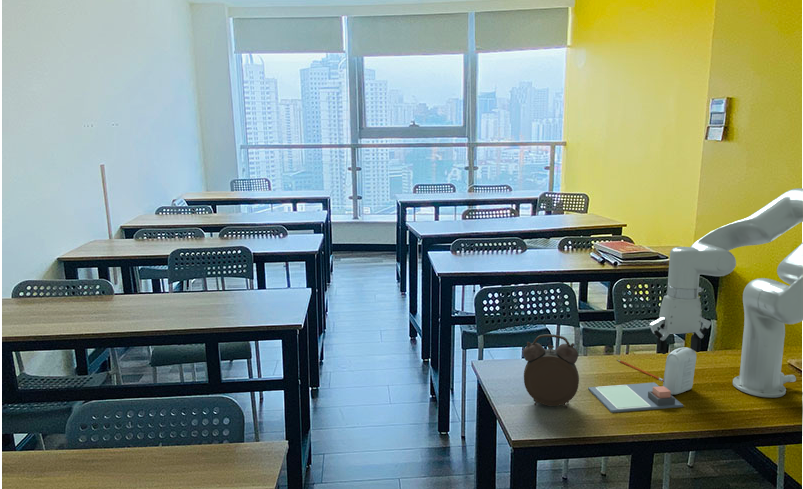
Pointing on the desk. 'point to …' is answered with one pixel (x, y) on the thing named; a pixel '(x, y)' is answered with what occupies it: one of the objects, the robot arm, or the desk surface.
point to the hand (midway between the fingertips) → (678, 351)
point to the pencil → (640, 370)
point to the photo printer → (679, 370)
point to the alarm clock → (551, 372)
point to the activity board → (632, 397)
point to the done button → (661, 392)
